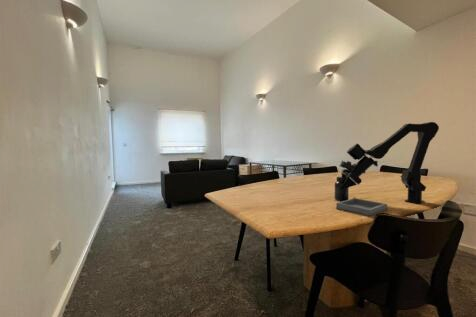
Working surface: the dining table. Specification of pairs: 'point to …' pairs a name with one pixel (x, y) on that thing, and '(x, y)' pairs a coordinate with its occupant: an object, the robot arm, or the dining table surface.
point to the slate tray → (361, 207)
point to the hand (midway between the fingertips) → (338, 187)
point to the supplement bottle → (341, 194)
